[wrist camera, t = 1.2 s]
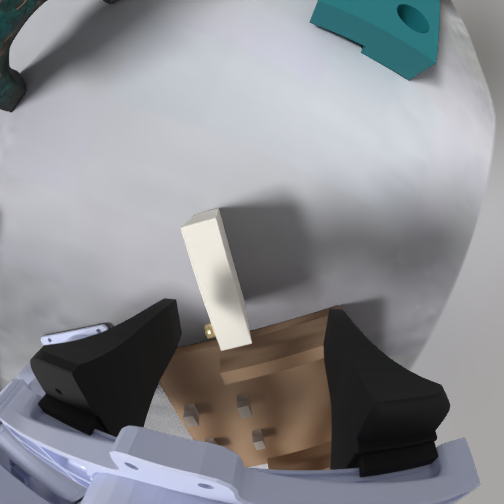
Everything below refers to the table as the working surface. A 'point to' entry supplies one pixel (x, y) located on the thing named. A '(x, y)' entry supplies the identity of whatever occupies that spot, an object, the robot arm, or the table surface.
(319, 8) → the teal l-shaped bracket
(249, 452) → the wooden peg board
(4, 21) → the ceramic cat
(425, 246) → the table surface
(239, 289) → the door
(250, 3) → the table surface
